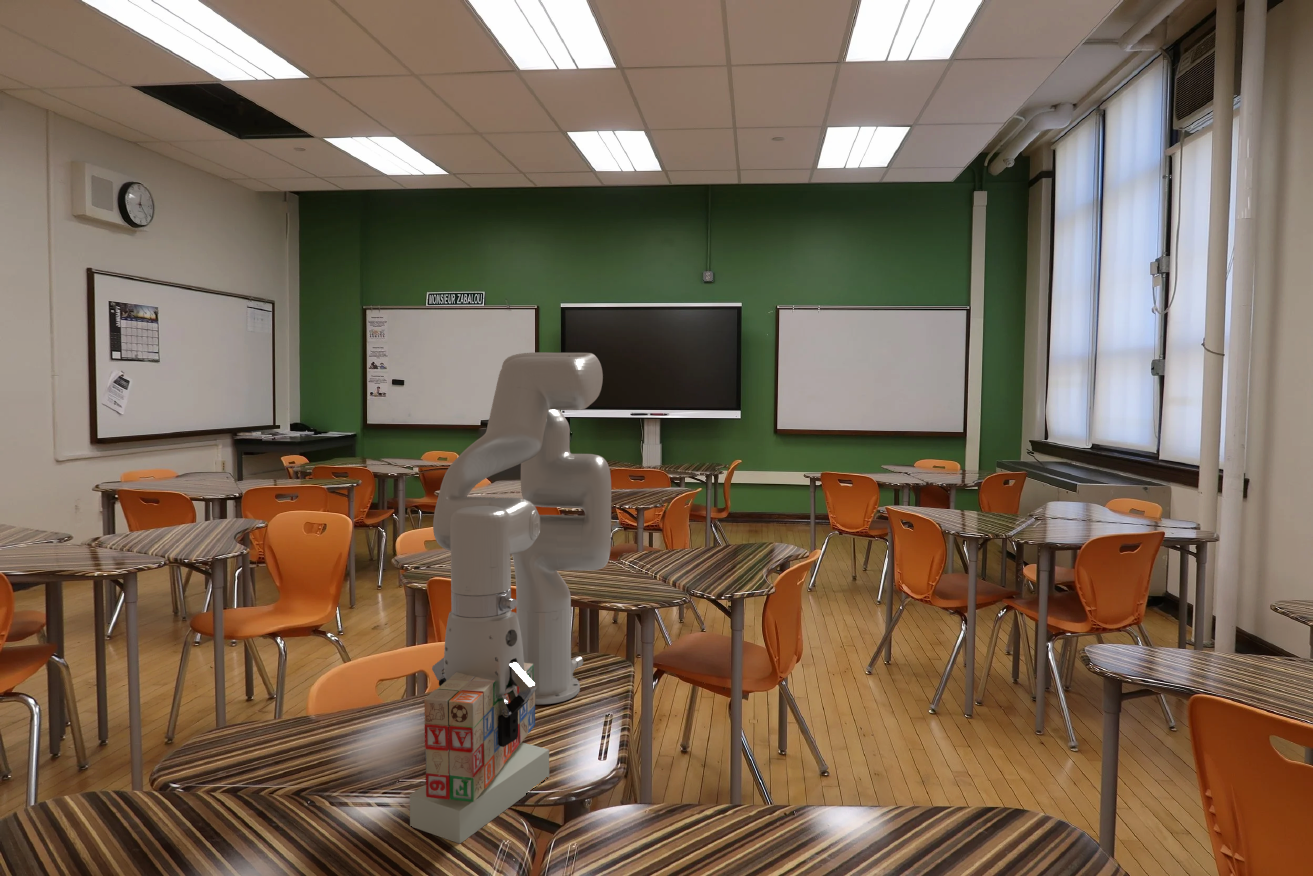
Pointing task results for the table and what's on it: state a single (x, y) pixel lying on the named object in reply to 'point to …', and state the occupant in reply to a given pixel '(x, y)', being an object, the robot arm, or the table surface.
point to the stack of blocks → (468, 736)
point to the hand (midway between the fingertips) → (483, 735)
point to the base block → (481, 797)
